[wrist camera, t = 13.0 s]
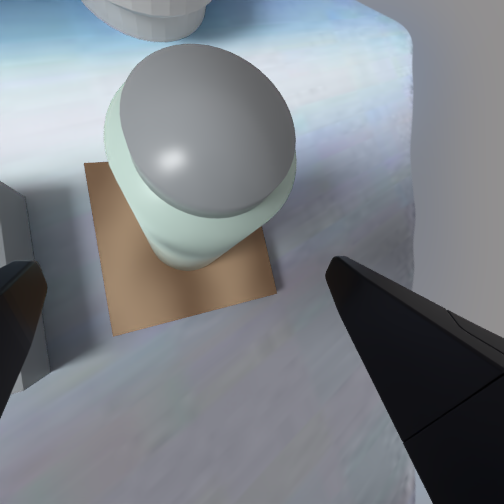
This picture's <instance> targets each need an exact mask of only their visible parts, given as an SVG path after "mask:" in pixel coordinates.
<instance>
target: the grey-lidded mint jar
mask: <svg viewBox="0 0 504 504" xmlns="http://www.w3.org/2000/svg"><path fill="white" fill-rule="evenodd" d="M295 142H296V138H295V129H294V124H293V120H292V117H291V114H290V111H289V109H288V107H287V104H286V102H285V100H284V99H283V97H282V95H281V94H280V92H279V91H278V90H277V88H276V87H275V86H274V84H273V83H272V82H271V81H270V80H269V79H268V78H267V77H266V76H265V75H264V74H263V73H262V72H261V71H260V70H259V69H258V68H256V67H255V66H253V65H252V64H251V63H249V62H248V61H246V60H244V59H243V58H241V57H239V56H237V55H235V54H233V53H231V52H229V51H226V50H223V49H220V48H216V47H212V46H208V45H200V44H181V45H174V46H170V47H166V48H163V49H161V50H158V51H156V52H154V53H152V54H150V55H149V56H147V57H146V58H144V59H143V60H142V61H141V62H140V63H138V64H137V66H136V67H135V68H134V69H133V70H132V72H131V73H130V75H129V76H128V78H127V80H126V82H125V83H124V84H123V85H122V86H121V87H120V89H119V90H118V91H117V92H116V94H115V96H114V97H113V99H112V101H111V103H110V105H109V108H108V111H107V113H106V118H105V124H104V145H105V152H106V156H107V159H108V162H109V166H110V168H111V170H112V172H113V174H114V177H115V179H116V181H117V183H118V184H119V186H120V188H121V190H122V192H123V194H124V196H125V198H126V200H127V202H128V204H129V205H130V207H131V209H132V211H133V213H134V215H135V217H136V219H137V221H138V223H139V225H140V227H141V228H142V230H143V232H144V234H145V236H146V238H147V240H148V242H149V244H150V246H151V248H152V249H153V251H154V253H155V254H156V256H157V257H158V258H159V259H160V260H161V261H162V262H163V263H165V264H166V265H168V266H170V267H172V268H174V269H177V270H182V271H193V270H198V269H201V268H203V267H206V266H207V265H209V264H210V263H212V262H213V261H215V260H216V259H217V258H219V257H220V256H221V255H223V254H224V253H225V252H227V251H228V250H229V249H231V248H232V247H234V246H235V245H236V244H238V243H239V242H240V241H242V240H243V239H244V238H246V237H247V236H248V235H250V234H251V233H253V232H254V231H255V230H257V229H258V228H259V227H261V226H262V225H263V224H265V223H266V222H267V221H269V220H270V219H271V218H272V217H273V216H275V214H276V213H277V212H278V211H279V210H280V209H281V208H282V206H283V205H284V203H285V202H286V200H287V198H288V196H289V194H290V192H291V190H292V187H293V183H294V180H295V174H296V150H295Z"/></svg>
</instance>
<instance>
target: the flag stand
mask: <svg viewBox="0 0 504 504" xmlns="http://www.w3.org/2000/svg"><path fill="white" fill-rule="evenodd" d="M81 1H82V2H83V3H84V5H85V6H86V7H87V8H88V9H89V10H90V11H91V12H92V13H93V14H94V15H95V16H96V17H97V18H99V19H100V20H102V21H103V22H104V23H106V24H107V25H109V26H110V27H112V28H114V29H116V30H118V31H120V32H122V33H123V34H126V35H129V36H131V37H134V38H137V39H141V40H146V41H151V42H171V41H177V40H180V39H183V38H185V37H187V36H189V35H190V34H192V33H193V32H195V31H196V29H197V28H198V27H199V26H200V25H201V23H202V20H203V18H204V16H205V8H206V5H207V4H209V3H210V2H211V1H212V0H81Z"/></svg>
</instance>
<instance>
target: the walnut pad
mask: <svg viewBox="0 0 504 504" xmlns="http://www.w3.org/2000/svg"><path fill="white" fill-rule="evenodd" d="M84 167H85V173H86V179H87V185H88V191H89V197H90V203H91V209H92V215H93V221H94V226H95V232H96V238H97V244H98V250H99V256H100V262H101V268H102V274H103V280H104V286H105V292H106V298H107V304H108V309H109V315H110V321H111V327H112V333H113V336H117V335H121V334H125V333H129V332H132V331H136V330H140V329H144V328H148V327H151V326H155V325H159V324H163V323H167V322H171V321H174V320H178V319H182V318H186V317H190V316H193V315H197V314H201V313H205V312H209V311H212V310H216V309H220V308H224V307H228V306H231V305H235V304H239V303H243V302H247V301H250V300H254V299H258V298H262V297H266V296H270V295H273V294H277V291H276V287H275V282H274V278H273V274H272V269H271V265H270V260H269V256H268V252H267V247H266V243H265V238H264V234H263V230H262V226H261V227H259V228H258V229H257V230H255V231H254V232H253V233H251V234H250V235H248V236H247V237H246V238H244V239H243V240H242V241H240V242H239V243H238V244H236V245H235V246H234V247H232V248H231V249H229V250H228V251H227V252H225V253H224V254H223V255H221V256H220V257H219V258H217V259H216V260H215V261H213V262H212V263H210V264H209V265H207V266H206V267H203V268H201V269H198V270H193V271H182V270H177V269H174V268H172V267H170V266H168V265H166V264H165V263H163V262H162V261H161V260H160V259H159V258H158V257H157V256H156V254H155V253H154V251H153V249H152V248H151V246H150V244H149V242H148V240H147V238H146V236H145V234H144V232H143V230H142V228H141V227H140V225H139V223H138V221H137V219H136V217H135V215H134V213H133V211H132V209H131V207H130V205H129V204H128V202H127V200H126V198H125V196H124V194H123V192H122V190H121V188H120V186H119V184H118V183H117V181H116V179H115V177H114V174H113V172H112V170H111V168H110V166H109V162H97V163H84Z"/></svg>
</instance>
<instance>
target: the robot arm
mask: <svg viewBox="0 0 504 504" xmlns="http://www.w3.org/2000/svg"><path fill="white" fill-rule="evenodd" d="M325 277H326V281H327V284H328V286H329V289H330V291H331V294H332V297H333V299H334V302H335V305H336V307H337V310H338V312H339V315H340V317H341V319H342V321H343V323H344V325H345V327H346V329H347V331H348V333H349V335H350V337H351V339H352V341H353V343H354V345H355V347H356V349H357V351H358V353H359V355H360V357H361V359H362V361H363V363H364V365H365V367H366V369H367V371H368V373H369V375H370V377H371V379H372V381H373V383H374V385H375V387H376V389H377V391H378V394H379V396H380V398H381V400H382V402H383V404H384V406H385V408H386V410H387V412H388V414H389V416H390V418H391V420H392V422H393V424H394V426H395V428H396V430H397V432H398V434H399V436H400V438H401V440H402V441H403V444H404V446H405V448H406V450H407V452H408V454H409V456H410V458H411V460H412V462H413V464H414V467H415V469H416V471H417V473H418V475H419V476H420V479H421V481H422V483H423V484H424V487H425V488H426V490H427V493H428V495H429V497H430V499H431V501H432V503H433V504H504V338H502V337H500V336H498V335H496V334H494V333H492V332H490V331H488V330H486V329H484V328H482V327H480V326H478V325H476V324H474V323H472V322H470V321H468V320H466V319H464V318H462V317H460V316H458V315H456V314H454V313H453V312H451V311H449V310H446V309H445V308H443V307H441V306H439V305H437V304H435V303H434V302H432V301H430V300H428V299H426V298H424V297H422V296H420V295H418V294H416V293H415V292H413V291H411V290H409V289H407V288H405V287H403V286H401V285H399V284H397V283H396V282H394V281H392V280H390V279H388V278H386V277H384V276H382V275H380V274H378V273H376V272H375V271H373V270H371V269H369V268H367V267H365V266H363V265H361V264H359V263H357V262H356V261H354V260H352V259H350V258H348V257H346V256H335V257H333V259H332V260H331V262H330V265H329V267H328V269H327V271H326V274H325ZM46 293H47V283H46V280H45V278H44V275H43V273H42V270H41V268H40V265H39V263H38V262H37V261H35V260H15V261H13V262H11V263H9V264H7V265H5V266H3V267H1V268H0V418H1V416H2V413H3V411H4V409H5V406H6V404H7V402H8V399H9V397H10V395H11V393H12V390H13V388H14V386H15V383H16V381H17V379H18V376H19V374H20V372H21V369H22V367H23V365H24V362H25V360H26V358H27V355H28V353H29V350H30V348H31V345H32V342H33V339H34V336H35V332H36V329H37V325H38V322H39V318H40V315H41V311H42V308H43V304H44V300H45V297H46Z"/></svg>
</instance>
